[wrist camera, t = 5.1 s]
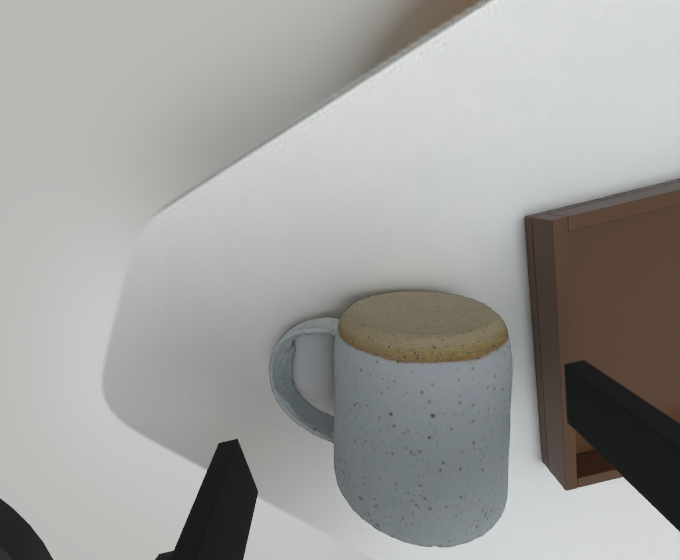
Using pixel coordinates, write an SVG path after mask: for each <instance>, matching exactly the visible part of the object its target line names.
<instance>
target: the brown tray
mask: <svg viewBox="0 0 680 560" xmlns="http://www.w3.org/2000/svg"><path fill="white" fill-rule="evenodd" d="M525 225H526V239H527V253H528V266H529V280H530V294H531V308H532V321H533V335H534V349H535V362H536V376H537V390H538V403H539V417H540V431H541V444H542V458H543V463H544V464H545V465H546V466H547V468H548V469H549V470H550V472H551V473H552V474H553V475H554V476H555V478H556V479H557V480H558V481H559V483H560V484H561V485H562V486H563V488H564V489H565V490H571V489H575V488H577V487H583V486H587V485H591V484H595V483H599V482H604V481H608V480H612V479H616V478H620V477H623V476H622V475H621V474H620V473H619V472H618V471H617V470H616V469H615V468H614V467H613V466H612V465H611V464H610V463H609V462H608V461H606V460H605V459H604V458H603V457H602V456H601V455H600V454H599V453H598V452H597V451H596V450H595V449H594V448H593V447H592V446H591V445H590V444H589V443H588V442H587V441H586V440H585V439H584V438H583V437H582V436H581V435H580V434H579V433H578V432H577V431H576V430H575V429H573V428H572V427H571V426H570V425H569V424H568V423H567V410H566V389H565V368H564V364H568V363H572V362H577V361H581V360H585V361H586V362H588V363H589V364H591V365H592V366H594V367H595V368H597V369H598V370H600V371H601V372H603V373H604V374H606V375H607V376H609V377H610V378H612V379H613V380H615V381H616V382H618V383H619V384H621V385H622V386H624V387H625V388H627V389H628V390H630V391H631V392H633V393H634V394H636V395H637V396H639V397H640V398H642V399H643V400H645V401H647V402H648V403H650V404H651V405H653V406H654V407H656V408H657V409H659V410H660V411H662V412H663V413H665V414H666V415H668V416H669V417H671V418H672V419H674V420H675V421H677V422H678V423H680V179H678V180H674V181H670V182H666V183H661V184H657V185H653V186H649V187H645V188H641V189H637V190H633V191H629V192H624V193H620V194H616V195H612V196H608V197H604V198H600V199H596V200H591V201H587V202H583V203H579V204H575V205H571V206H567V207H563V208H559V209H554V210H550V211H546V212H542V213H538V214H534V215H530V216H526V217H525Z"/></svg>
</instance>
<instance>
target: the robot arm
mask: <svg viewBox="0 0 680 560" xmlns="http://www.w3.org/2000/svg"><path fill="white" fill-rule="evenodd" d="M564 368H565V389H566V410H567V423H568V424H569V425H570V426H571V427H572V428H573V429H575V430H576V431H577V432H578V433H579V434H580V435H581V436H582V437H583V438H584V439H585V440H586V441H587V442H588V443H589V444H590V445H591V446H592V447H593V448H594V449H595V450H596V451H597V452H598V453H599V454H600V455H601V456H602V457H603V458H604V459H605V460H606V461H608V462H609V463H610V464H611V465H612V466H613V467H614V468H615V469H616V470H617V471H618V472H619V473H620V474H621V475H622V476H623V477H624V478H625V479H626V480H627V481H628V482H629V483H630V484H631V485H632V486H633V487H634V488H635V489H636V490H637V491H638V492H639V493H641V494H642V495H643V496H644V497H645V498H646V499H647V500H648V501H649V502H650V503H651V504H652V505H653V506H654V507H655V508H656V509H657V510H658V511H659V512H660V513H661V514H662V515H663V516H664V517H665V518H666V519H667V520H668V521H669V522H670V523H671V524H673V525H674V526H675V527H676V528H677V529H678V530H679V531H680V423H678V422H677V421H675V420H674V419H672V418H671V417H669V416H668V415H666V414H665V413H663V412H662V411H660V410H659V409H657V408H656V407H654V406H653V405H651V404H650V403H648V402H647V401H645V400H643V399H642V398H640V397H639V396H637V395H636V394H634V393H633V392H631V391H630V390H628V389H627V388H625V387H624V386H622V385H621V384H619V383H618V382H616V381H615V380H613V379H612V378H610V377H609V376H607V375H606V374H604V373H603V372H601V371H600V370H598V369H597V368H595V367H594V366H592V365H591V364H589V363H588V362H586V361H585V360H581V361H577V362H572V363H568V364H564ZM257 494H258V490H257V488H256V485H255V482H254V480H253V477H252V475H251V472H250V470H249V467H248V465H247V462H246V459H245V457H244V454H243V452H242V449H241V447H240V444H239V442H238V439H235V440H231V441H227V442H222V443H219V444H218V446H217V449H216V451H215V454H214V456H213V458H212V461H211V463H210V466H209V468H208V470H207V473H206V475H205V478H204V480H203V482H202V485H201V487H200V490H199V492H198V494H197V497H196V499H195V502H194V504H193V506H192V509H191V511H190V514H189V516H188V518H187V521H186V523H185V526H184V528H183V531H182V533H181V535H180V538H179V540H178V542H177V545H176V547H175V550H174V551H171V552H167V553H162V554H159V555H158V557H157V558H156V559H155V560H243V558H244V553H245V548H246V544H247V539H248V535H249V530H250V526H251V521H252V517H253V512H254V508H255V503H256V499H257Z"/></svg>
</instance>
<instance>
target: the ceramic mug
mask: <svg viewBox="0 0 680 560" xmlns="http://www.w3.org/2000/svg"><path fill="white" fill-rule="evenodd" d="M309 334H322V335H328V334H329V335H332V336H334V337H335V343H334V358H333V364H334V380H335V408H334V416H331V415H329V414H327V413H324V412H323V411H320V410H318V409H317V408H315V407H314V406H312V405H311V404H310V403H308V402H307V401H306V400H305V399H304V398H303V397H302V396H301V394H300V393H299V392H298V391H297V390H296V388H295V386H294V382H293V380H292V358H293V354H294V352H295V351H296V349H295V344H294V339H296V338H298V337H300V336H302V335H309ZM269 372H270V384H271V388H272V391H273V394H274V396H275V398H276V400H277V402H278V404H279V405H280V407H281V408H282V409H283V410H284V412H285V413H286V414H287V415H288V416H289V417H290V418H291V419H292V420H293V421H294V422H296V423H297V424H298V425H299V426H301V427H302V428H304V429H305V430H307V431H308V432H310V433H312V434H313V435H316V436H318V437H320V438H323V439H325V440H328V441H330V442H332V443H333V444H334V470H335V474H336V479H337V483H338V486H339V489H340V491H341V492H342V494H343V496H344V497H345V499H346V500H347V502H348V503H349V505H350V506H351V508H352V509H353V510H354V511H355V512H356V513H357V514H358V515H359V516H360V517H361V518H362V519H364V520H365V521H366V522H368V523H369V524H371V525H372V526H373V527H374V528H376V529H377V530H378V531H381V532H383V533H385V534H387V535H389V536H391V537H394V538H396V539H398V540H401V541H403V542H406V543H410V544H414V545H419V546H426V547H432V546H437V547H452V546H456V545H460V544H464V543H467V542H470V541H472V540H474V539H476V538H478V537H480V536H483V535H484V534H485V533H486V532H487V531H489V530H490V529H491V528H492V527H493V526H494V525H495V523H496V522H497V521H498V520H499V518H500V517H501V515H502V513H503V510H504V508H505V504H506V500H507V490H508V456H509V438H510V403H511V389H512V355H511V348H510V342H509V336H508V330H507V328H506V325H505V323H504V321H503V320H502V319H501V317H500V316H499V315H498V314H497V313H496V312H495V311H493V310H492V309H491V308H490V307H488V306H486V305H485V304H483V303H481V302H478V301H476V300H474V299H471V298H467V297H463V296H460V295H454V294H448V293H442V292H433V291H400V292H389V293H382V294H376V295H373V296H369V297H366V298H364V299H361V300H359V301H357V302H355V303H354V304H353V305H351V306H350V307H349V308H348V309H347V310H346V311H345V312H344V313H343V314H342V315H341V317H340V319H334V318H330V317H323V318H317V319H311V320H307V321H304V322H302V323H300V324H298V325H296V326H295V327H293V328H292V329H291V330H289V331H288V332H287V333H286V334H285V335H284V336H283V337H282V338H281V339H280V340H279V341H278V343H277V345H276V346H275V348H274V349H273V352H272V356H271V359H270V366H269Z"/></svg>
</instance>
